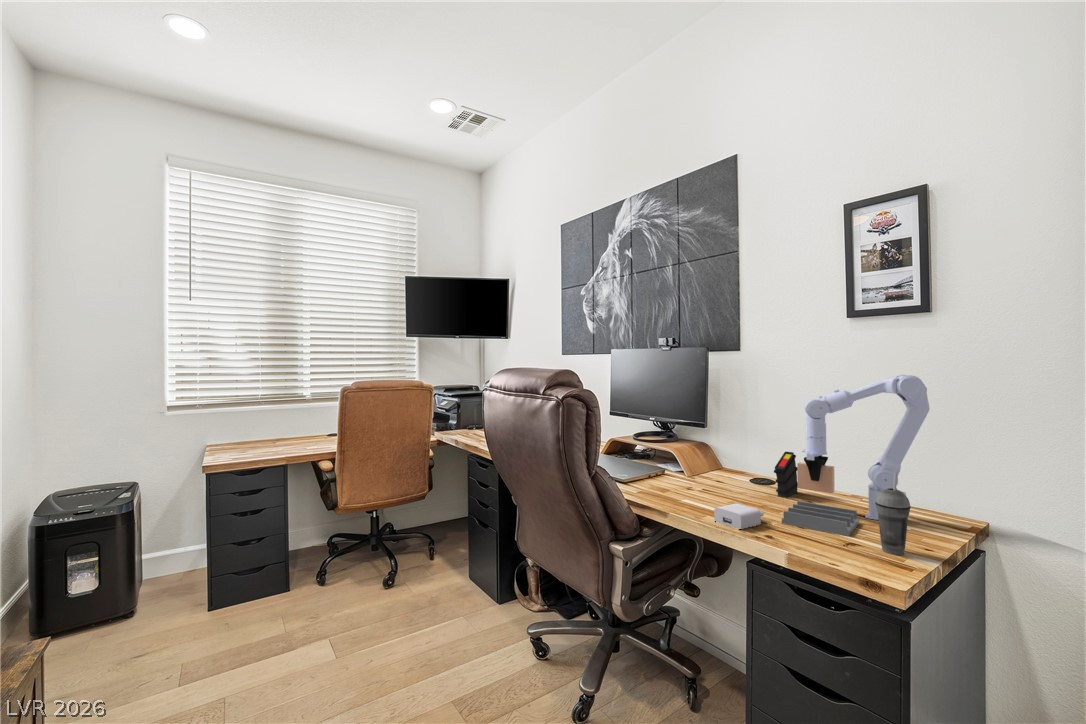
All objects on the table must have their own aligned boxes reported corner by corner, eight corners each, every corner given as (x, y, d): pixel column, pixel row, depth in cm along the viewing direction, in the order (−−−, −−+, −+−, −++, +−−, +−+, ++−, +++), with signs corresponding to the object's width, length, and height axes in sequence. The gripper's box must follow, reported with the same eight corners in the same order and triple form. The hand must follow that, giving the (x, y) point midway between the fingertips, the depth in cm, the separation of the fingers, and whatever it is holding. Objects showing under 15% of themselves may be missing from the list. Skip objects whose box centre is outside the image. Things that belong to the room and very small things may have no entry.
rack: (859, 523, 145) (858, 510, 145) (848, 536, 134) (848, 523, 134) (796, 511, 157) (796, 500, 157) (781, 523, 145) (781, 510, 145)
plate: (834, 491, 155) (834, 466, 156) (832, 493, 153) (832, 467, 154) (799, 486, 162) (799, 462, 162) (797, 488, 160) (797, 463, 160)
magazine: (802, 486, 183) (795, 452, 178) (789, 508, 175) (782, 472, 170) (791, 484, 186) (784, 450, 181) (778, 506, 177) (771, 471, 173)
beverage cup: (896, 546, 127) (895, 467, 127) (919, 557, 119) (918, 474, 120) (868, 546, 126) (868, 468, 127) (889, 557, 119) (888, 474, 119)
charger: (774, 522, 146) (740, 531, 139) (747, 514, 154) (714, 522, 147) (774, 506, 146) (740, 514, 139) (747, 499, 154) (714, 506, 147)
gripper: (808, 433, 166) (808, 474, 166) (795, 438, 155) (796, 481, 155) (831, 435, 161) (832, 477, 161) (821, 440, 150) (821, 485, 150)
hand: (816, 479), depth 158 cm, fingers closed on plate, 3 cm apart
